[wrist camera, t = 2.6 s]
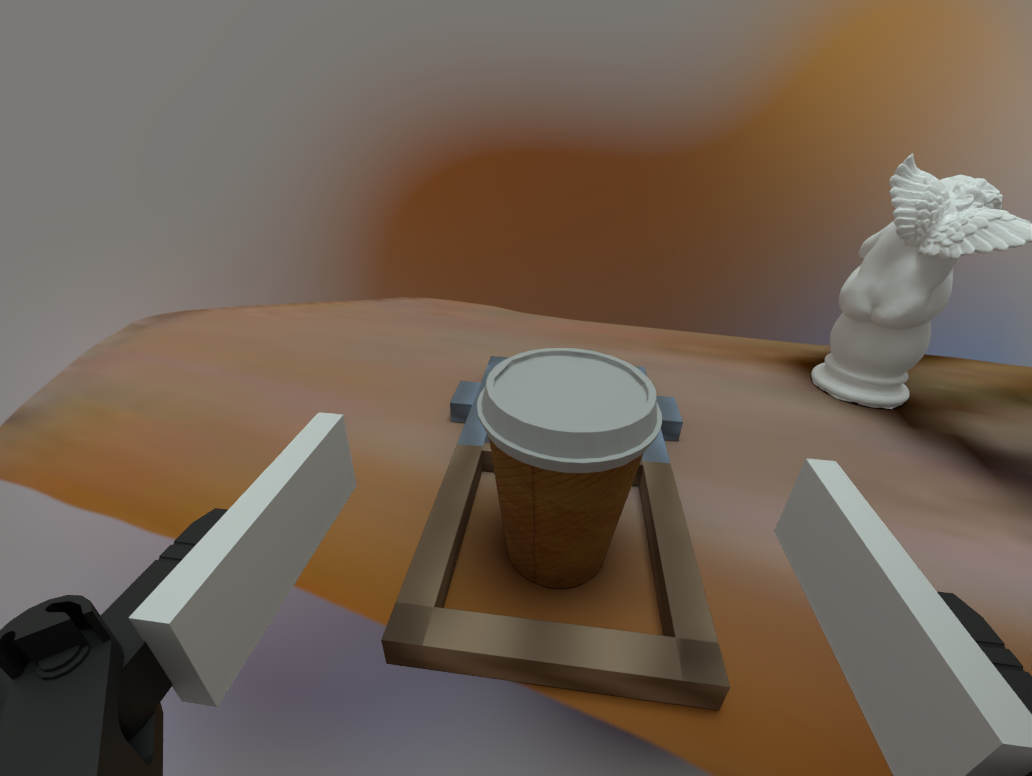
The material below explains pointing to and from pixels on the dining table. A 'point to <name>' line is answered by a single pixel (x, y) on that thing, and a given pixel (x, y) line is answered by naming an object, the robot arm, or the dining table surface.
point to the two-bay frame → (550, 645)
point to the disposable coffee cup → (565, 455)
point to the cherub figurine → (909, 281)
